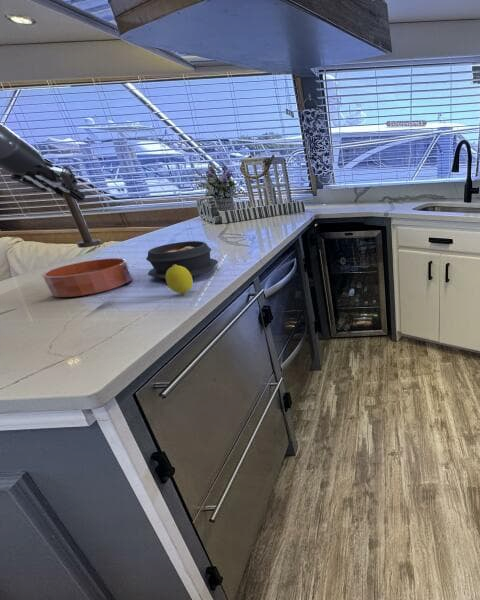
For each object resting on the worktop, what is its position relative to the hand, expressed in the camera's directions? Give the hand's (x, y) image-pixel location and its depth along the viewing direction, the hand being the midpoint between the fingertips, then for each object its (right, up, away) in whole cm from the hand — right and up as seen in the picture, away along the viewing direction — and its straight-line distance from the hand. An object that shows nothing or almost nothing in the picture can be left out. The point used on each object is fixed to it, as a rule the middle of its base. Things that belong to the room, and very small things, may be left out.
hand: (77, 199), depth 84 cm
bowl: (-2, -23, +7) cm, 24 cm away
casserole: (+18, -18, +16) cm, 30 cm away
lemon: (+29, -25, -1) cm, 38 cm away
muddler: (+1, -12, +3) cm, 12 cm away
